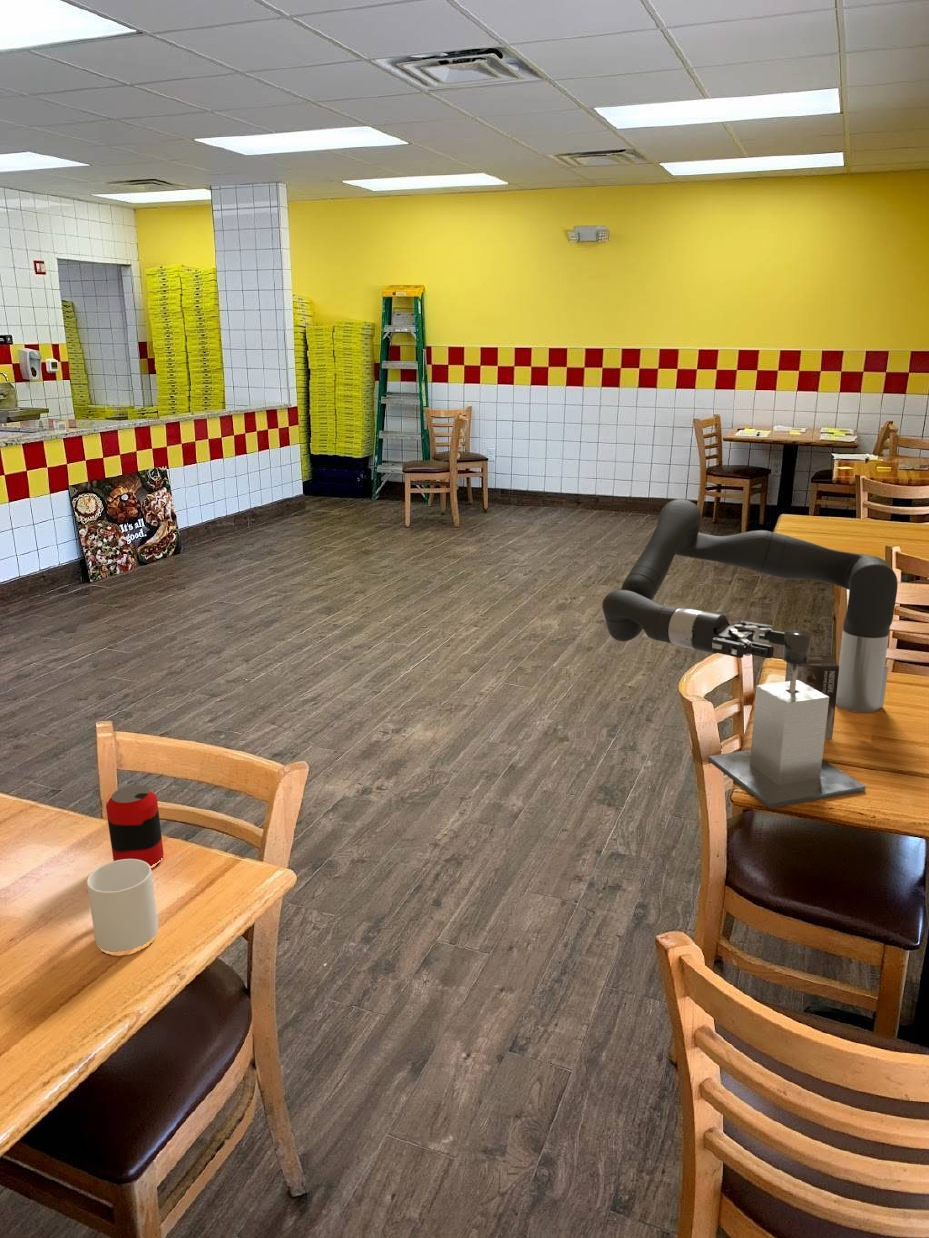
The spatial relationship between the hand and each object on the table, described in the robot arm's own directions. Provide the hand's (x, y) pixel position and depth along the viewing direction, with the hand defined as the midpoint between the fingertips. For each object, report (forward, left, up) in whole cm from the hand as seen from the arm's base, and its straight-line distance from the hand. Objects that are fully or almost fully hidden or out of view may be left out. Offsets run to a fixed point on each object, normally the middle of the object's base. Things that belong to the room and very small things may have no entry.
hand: (781, 646), depth 168 cm
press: (-2, +2, -25) cm, 25 cm away
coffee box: (-18, -13, -26) cm, 34 cm away
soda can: (+113, -5, -26) cm, 116 cm away
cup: (+115, +13, -26) cm, 118 cm away
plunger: (-2, +2, -19) cm, 19 cm away
